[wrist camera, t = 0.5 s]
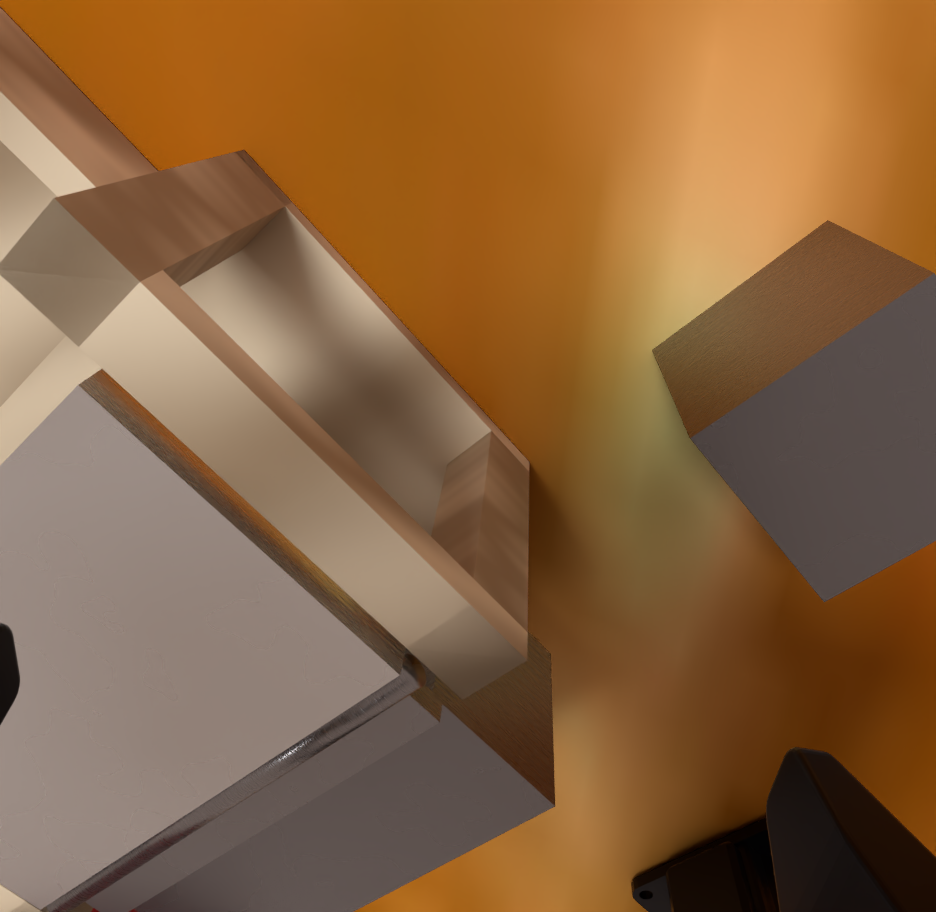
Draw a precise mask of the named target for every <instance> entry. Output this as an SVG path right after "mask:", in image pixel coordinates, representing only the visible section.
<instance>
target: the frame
mask: <svg viewBox="0 0 936 912" xmlns="http://www.w3.org/2000/svg"><path fill="white" fill-rule="evenodd" d="M101 369H103V370H104V371H105V372H106V373H108V374H109V375H110V376H111V377H112V378H113V379H114V380H115V381H116V382H117V383H118V384H120V385H121V386H122V387H123V388H124V389H125V390H126V391H127V392H128V393H129V394H130V395H132V396H133V397H134V398H135V399H136V400H137V401H138V402H139V403H140V404H141V405H142V406H143V407H145V408H146V409H147V410H148V411H149V412H150V413H151V414H152V415H153V416H154V417H155V418H157V419H158V420H159V421H160V422H161V423H162V424H163V425H164V426H165V427H166V428H167V429H169V430H170V431H171V432H172V433H173V434H174V435H175V436H176V437H177V438H178V439H179V440H180V441H182V442H183V443H184V444H185V445H186V446H187V447H188V448H189V449H190V450H191V451H192V452H194V453H195V454H196V455H197V456H198V457H199V458H200V459H201V460H202V461H203V462H204V463H206V464H207V465H208V466H209V467H210V468H211V469H212V470H213V471H214V472H215V473H216V474H217V475H219V476H220V477H221V478H222V479H223V480H224V481H225V482H226V483H227V484H228V485H229V486H231V487H232V488H233V489H234V490H235V491H236V492H237V493H238V494H239V495H240V496H241V497H243V498H244V499H245V500H246V501H247V502H248V503H249V504H250V505H251V506H252V507H253V508H254V509H256V510H257V511H258V512H259V513H260V514H261V515H262V516H263V517H264V518H265V519H266V520H268V521H269V522H270V523H271V524H272V525H273V526H274V527H275V528H276V529H277V530H278V531H280V532H281V533H282V534H283V535H284V536H285V537H286V538H287V539H288V540H289V541H290V542H291V543H293V544H294V545H295V546H296V547H297V548H298V549H299V550H300V551H301V552H302V553H303V554H305V555H306V556H307V557H308V558H309V559H310V560H311V561H312V562H313V563H314V564H315V565H317V566H318V567H319V568H320V569H321V570H322V571H323V572H324V573H325V574H326V575H327V576H328V577H330V578H331V579H332V580H333V581H334V582H335V583H336V584H337V585H338V586H339V587H340V588H342V589H343V590H344V591H345V592H346V593H347V594H348V595H349V596H350V597H351V598H352V599H354V600H355V601H356V602H357V603H358V604H359V605H360V606H361V607H362V608H363V609H364V610H365V611H367V612H368V613H369V614H370V615H371V616H372V617H373V618H374V619H375V620H376V621H377V622H379V623H380V624H381V625H382V626H383V627H384V628H385V629H386V630H387V631H388V632H389V633H391V634H392V635H393V636H394V637H395V638H396V639H397V640H398V641H399V642H400V643H401V644H402V645H404V646H405V647H406V648H407V649H408V650H409V651H410V652H411V653H412V654H413V655H414V656H416V657H417V658H418V659H419V660H420V661H421V662H422V663H423V664H424V665H425V666H426V667H428V668H429V669H430V670H431V671H432V672H433V673H434V674H435V675H436V676H437V677H438V678H439V679H441V680H442V681H443V682H444V683H445V684H446V685H447V686H448V687H449V688H450V689H451V690H453V691H454V692H455V693H456V694H457V695H458V696H459V697H460V698H461V699H462V700H463V699H465V698H467V697H468V696H470V695H472V694H473V693H475V692H476V691H478V690H480V689H481V688H483V687H485V686H486V685H488V684H489V683H491V682H493V681H494V680H496V679H498V678H499V677H501V676H502V675H504V674H506V673H507V672H509V671H511V670H512V669H514V668H516V667H517V666H519V665H520V664H522V663H524V662H525V661H527V644H528V553H529V461H528V460H527V459H526V458H525V457H524V456H523V455H522V453H521V452H520V451H519V450H518V449H517V448H516V447H515V446H514V445H513V444H512V442H511V441H510V440H509V439H508V438H507V437H506V436H505V435H504V434H503V433H502V432H501V430H500V429H499V428H498V427H497V426H496V425H495V424H494V423H493V422H492V421H491V420H490V418H489V417H488V416H487V415H486V414H485V413H484V412H483V411H482V410H481V409H480V407H479V406H478V405H477V404H476V403H475V402H474V401H473V400H472V399H471V398H470V397H469V395H468V394H467V393H466V392H465V391H464V390H463V389H462V388H461V387H460V386H459V385H458V383H457V382H456V381H455V380H454V379H453V378H452V377H451V376H450V375H449V374H448V372H447V371H446V370H445V369H444V368H443V367H442V366H441V365H440V364H439V363H438V362H437V360H436V359H435V358H434V357H433V356H432V355H431V354H430V353H429V352H428V351H427V350H426V348H425V347H424V346H423V345H422V344H421V343H420V342H419V341H418V340H417V339H416V337H415V336H414V335H413V334H412V333H411V332H410V331H409V330H408V329H407V328H406V327H405V325H404V324H403V323H402V322H401V321H400V320H399V319H398V318H397V317H396V316H395V315H394V313H393V312H392V311H391V310H390V309H389V308H388V307H387V306H386V305H385V304H384V302H383V301H382V300H381V299H380V298H379V297H378V296H377V295H376V294H375V293H374V292H373V290H372V289H371V288H370V287H369V286H368V285H367V284H366V283H365V282H364V281H363V280H362V278H361V277H360V276H359V275H358V274H357V273H356V272H355V271H354V270H353V269H352V267H351V266H350V265H349V264H348V263H347V262H346V261H345V260H344V259H343V258H342V257H341V255H340V254H339V253H338V252H337V251H336V250H335V249H334V248H333V247H332V246H331V245H330V243H329V242H328V241H327V240H326V239H325V238H324V237H323V236H322V235H321V234H320V232H319V231H318V230H317V229H316V228H315V227H314V226H313V225H312V224H311V223H310V222H309V220H308V219H307V218H306V217H305V216H304V215H303V214H302V213H301V212H300V211H299V210H298V208H297V207H296V206H295V205H294V204H293V203H292V202H291V201H290V200H289V199H288V197H287V196H286V195H285V194H284V193H283V192H282V191H281V190H280V189H279V188H278V187H277V185H276V184H275V183H274V182H273V181H272V180H271V179H270V178H269V177H268V176H267V175H266V173H265V172H264V171H263V170H262V169H261V168H260V167H259V166H258V165H257V164H256V162H255V161H254V160H253V159H252V158H251V157H250V156H249V155H248V154H247V153H246V152H245V150H241V151H237V152H233V153H229V154H225V155H221V156H217V157H213V158H210V159H206V160H202V161H198V162H194V163H190V164H186V165H182V166H178V167H174V168H170V169H166V170H162V171H157V170H156V169H155V168H154V167H153V166H152V164H151V163H150V162H149V161H148V160H147V159H146V158H145V157H144V156H143V155H142V154H141V153H140V152H139V151H138V150H137V149H136V148H135V147H134V146H133V145H132V144H131V143H130V142H129V141H128V140H127V139H126V137H125V136H124V135H123V134H122V133H121V132H120V131H119V130H118V129H117V128H116V127H115V126H114V125H113V124H112V123H111V122H110V121H109V120H108V119H107V118H106V117H105V116H104V115H103V114H102V113H101V112H100V111H99V109H98V108H97V107H96V106H95V105H94V104H93V103H92V102H91V101H90V100H89V99H88V98H87V97H86V96H85V95H84V94H83V93H82V92H81V91H80V90H79V89H78V88H77V87H76V86H75V85H74V84H73V82H72V81H71V80H70V79H69V78H68V77H67V76H66V75H65V74H64V73H63V72H62V71H61V70H60V69H59V68H58V67H57V66H56V65H55V64H54V63H53V62H52V61H51V60H50V59H49V58H48V57H47V55H46V54H45V53H44V52H43V51H42V50H41V49H40V48H39V47H38V46H37V45H36V44H35V43H34V42H33V41H32V40H31V39H30V38H29V37H28V36H27V35H26V34H25V33H24V32H23V31H22V30H21V28H20V27H19V26H18V25H17V24H16V23H15V22H14V21H13V20H12V19H11V18H10V17H9V16H8V15H7V14H6V13H5V12H4V11H3V10H2V9H1V8H0V465H1V464H2V463H3V462H4V461H5V460H6V459H7V458H8V457H9V456H10V455H11V454H12V453H13V452H14V451H15V450H16V449H17V448H18V447H19V446H20V445H21V443H22V442H23V441H24V440H25V439H26V438H27V437H28V436H29V435H30V434H31V433H32V432H33V431H34V430H35V429H36V428H37V427H38V426H39V425H40V424H41V423H42V422H43V421H44V420H45V419H46V418H47V416H48V415H49V414H50V413H51V412H52V411H53V410H54V409H55V408H56V407H57V406H58V405H59V404H60V403H61V402H62V401H63V400H64V399H65V398H66V397H67V396H68V395H69V394H70V393H71V392H72V391H73V390H74V388H75V387H76V386H77V385H79V384H80V383H82V382H83V381H84V380H86V379H87V378H89V377H90V376H92V375H93V374H95V373H96V372H98V371H99V370H101ZM92 909H93V907H92V906H90V905H89V904H87V903H86V902H84V903H82V904H81V905H79V906H78V907H76V908H74V909H73V910H71V911H70V912H91V911H92ZM0 912H49V911H48V910H47V907H44V908H43V909H41V910H40V909H38V908H37V907H35V906H34V905H32V904H31V903H29V902H28V901H26V900H24V899H23V898H21V897H20V896H18V895H17V894H15V893H14V892H12V891H11V890H9V889H7V888H6V887H4V886H3V885H1V884H0Z"/></svg>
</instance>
